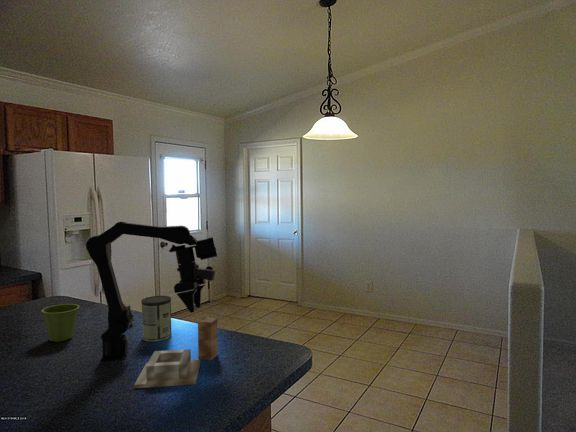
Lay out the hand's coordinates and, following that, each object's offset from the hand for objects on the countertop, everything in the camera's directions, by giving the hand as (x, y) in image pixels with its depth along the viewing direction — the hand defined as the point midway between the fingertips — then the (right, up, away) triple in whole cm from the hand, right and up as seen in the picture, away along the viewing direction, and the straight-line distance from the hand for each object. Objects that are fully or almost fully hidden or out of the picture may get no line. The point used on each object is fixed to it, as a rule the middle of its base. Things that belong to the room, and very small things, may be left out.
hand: (195, 309), depth 123 cm
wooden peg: (+5, -14, -3) cm, 15 cm away
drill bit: (-35, -13, +27) cm, 46 cm away
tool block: (-4, -15, -15) cm, 22 cm away
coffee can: (-18, -14, +15) cm, 27 cm away
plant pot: (-52, -14, +13) cm, 55 cm away
